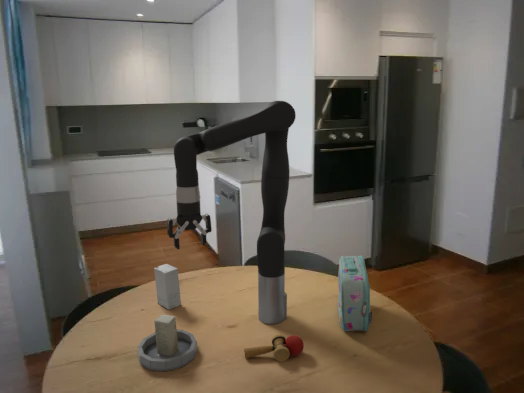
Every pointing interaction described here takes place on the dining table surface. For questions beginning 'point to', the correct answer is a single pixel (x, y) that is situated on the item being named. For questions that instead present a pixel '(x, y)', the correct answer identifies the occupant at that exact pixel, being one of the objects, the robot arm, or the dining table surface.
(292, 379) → the dining table surface
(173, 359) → the round tray
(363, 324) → the lunch box
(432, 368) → the dining table surface
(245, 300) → the dining table surface
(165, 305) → the skincare box
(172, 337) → the box
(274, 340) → the kendama
